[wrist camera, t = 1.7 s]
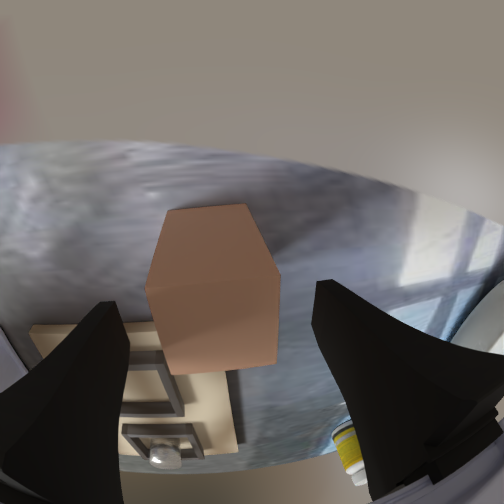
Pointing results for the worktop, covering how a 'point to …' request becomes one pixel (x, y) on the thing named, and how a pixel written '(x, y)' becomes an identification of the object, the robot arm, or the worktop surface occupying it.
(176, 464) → the pin
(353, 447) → the supplement bottle
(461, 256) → the worktop surface
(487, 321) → the serving bowl
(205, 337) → the tan tall block
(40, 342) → the board
